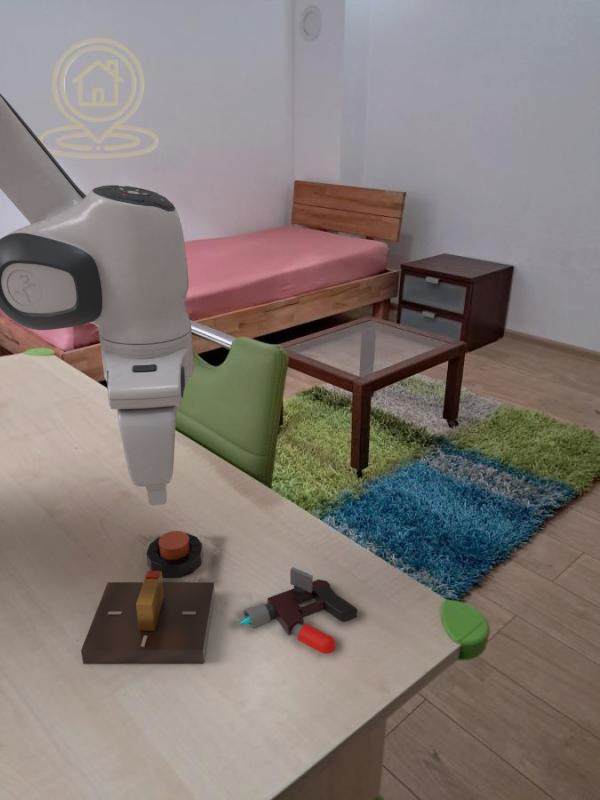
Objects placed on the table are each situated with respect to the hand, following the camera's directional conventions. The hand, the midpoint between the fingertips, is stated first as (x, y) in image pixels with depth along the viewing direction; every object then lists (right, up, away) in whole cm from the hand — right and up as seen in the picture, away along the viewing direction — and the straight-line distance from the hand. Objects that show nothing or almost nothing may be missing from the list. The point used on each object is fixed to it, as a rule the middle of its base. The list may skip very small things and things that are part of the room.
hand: (159, 477), depth 69 cm
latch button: (0, -10, +8) cm, 13 cm away
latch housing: (0, -12, +9) cm, 15 cm away
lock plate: (0, -17, -1) cm, 17 cm away
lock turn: (0, -14, -2) cm, 14 cm away
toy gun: (+15, -17, 0) cm, 23 cm away
